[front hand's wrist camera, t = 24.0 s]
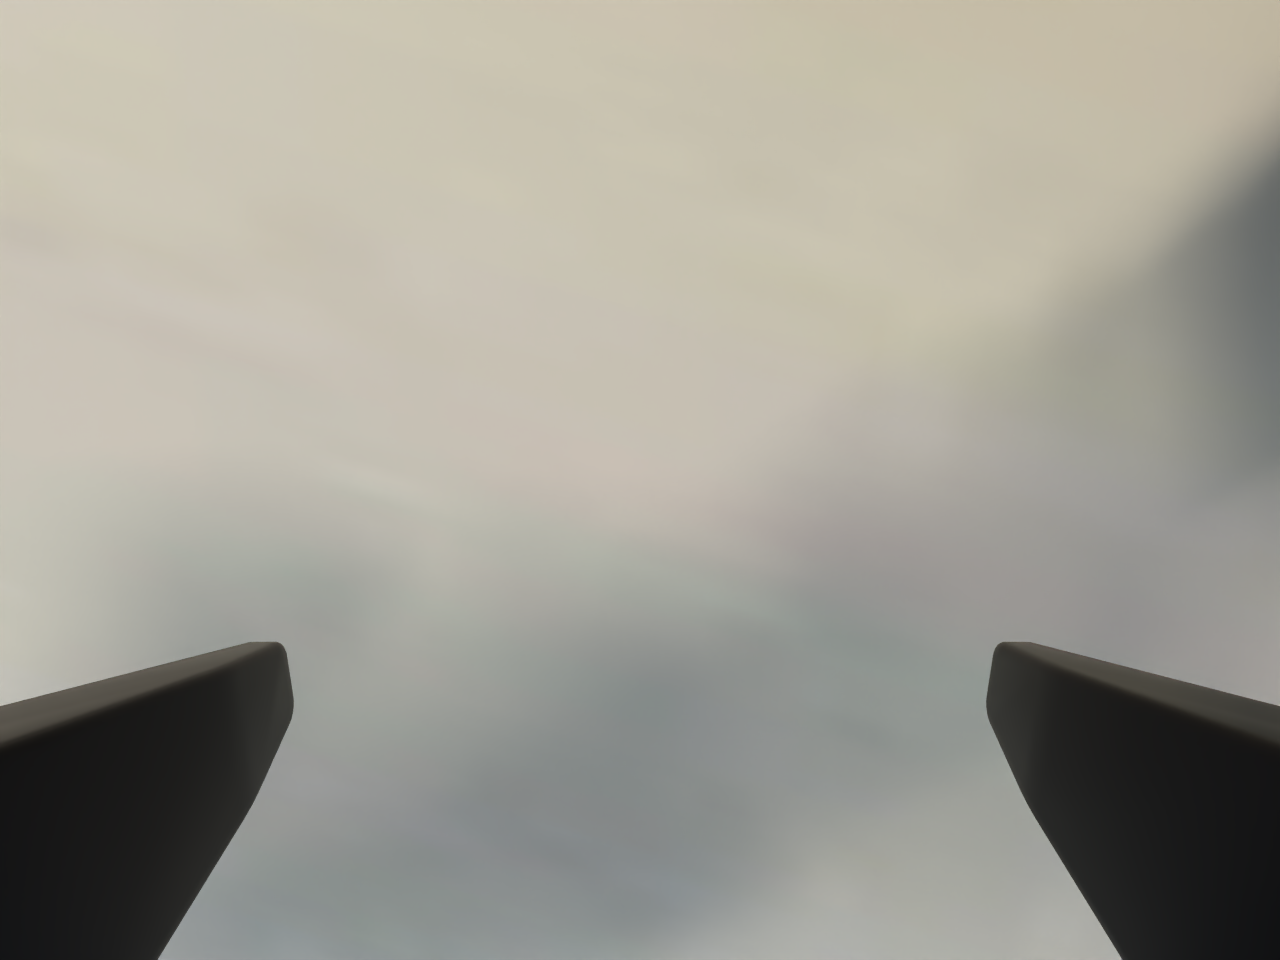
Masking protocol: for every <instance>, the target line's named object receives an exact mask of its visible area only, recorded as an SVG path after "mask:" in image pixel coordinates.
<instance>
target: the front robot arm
mask: <svg viewBox="0 0 1280 960" xmlns="http://www.w3.org/2000/svg"><path fill="white" fill-rule="evenodd" d="M293 707H294V699H293V692H292V685H291V679H290V672H289V666H288V659H287V654H286V651H285V648H284V646H283V645H282V644H280V643H278V642H248V643H245V644H241V645H237V646H233V647H229V648H225V649H221V650H217V651H213V652H210V653H206V654H202V655H198V656H194V657H190V658H186V659H182V660H178V661H175V662H171V663H167V664H163V665H159V666H155V667H151V668H147V669H143V670H140V671H136V672H132V673H128V674H124V675H120V676H116V677H112V678H108V679H105V680H101V681H97V682H93V683H89V684H85V685H81V686H77V687H73V688H70V689H66V690H62V691H58V692H54V693H50V694H46V695H42V696H39V697H35V698H31V699H27V700H23V701H19V702H15V703H11V704H7V705H4V706H0V960H158V958H159V956H160V955H161V953H162V952H163V950H164V948H165V947H166V945H167V943H168V942H169V940H170V939H171V937H172V935H173V934H174V932H175V930H176V929H177V927H178V926H179V924H180V922H181V921H182V919H183V917H184V916H185V914H186V913H187V911H188V909H189V908H190V906H191V904H192V903H193V901H194V900H195V898H196V896H197V895H198V893H199V891H200V890H201V888H202V886H203V885H204V883H205V882H206V880H207V878H208V877H209V875H210V873H211V872H212V870H213V869H214V867H215V865H216V864H217V862H218V860H219V859H220V857H221V856H222V854H223V852H224V851H225V849H226V847H227V846H228V844H229V843H230V841H231V839H232V838H233V836H234V834H235V833H236V831H237V830H238V828H239V826H240V825H241V823H242V821H243V820H244V818H245V816H246V815H247V813H248V811H249V809H250V808H251V806H252V804H253V802H254V800H255V798H256V796H257V794H258V792H259V790H260V788H261V786H262V783H263V781H264V779H265V777H266V775H267V772H268V770H269V768H270V766H271V764H272V761H273V759H274V757H275V755H276V752H277V750H278V748H279V746H280V744H281V741H282V739H283V737H284V735H285V732H286V730H287V728H288V726H289V724H290V721H291V718H292V714H293ZM986 707H987V714H988V718H989V721H990V724H991V726H992V728H993V730H994V733H995V735H996V737H997V739H998V741H999V744H1000V746H1001V748H1002V750H1003V752H1004V755H1005V757H1006V759H1007V761H1008V764H1009V766H1010V768H1011V770H1012V772H1013V775H1014V777H1015V779H1016V781H1017V783H1018V786H1019V788H1020V790H1021V792H1022V794H1023V796H1024V798H1025V800H1026V802H1027V804H1028V806H1029V808H1030V809H1031V811H1032V813H1033V815H1034V816H1035V818H1036V820H1037V821H1038V823H1039V825H1040V826H1041V828H1042V830H1043V831H1044V833H1045V834H1046V836H1047V838H1048V839H1049V841H1050V843H1051V844H1052V846H1053V847H1054V849H1055V851H1056V852H1057V854H1058V856H1059V857H1060V859H1061V860H1062V862H1063V864H1064V865H1065V867H1066V869H1067V870H1068V872H1069V873H1070V875H1071V877H1072V878H1073V880H1074V882H1075V883H1076V885H1077V886H1078V888H1079V890H1080V891H1081V893H1082V895H1083V896H1084V898H1085V899H1086V901H1087V903H1088V904H1089V906H1090V908H1091V909H1092V911H1093V912H1094V914H1095V916H1096V917H1097V919H1098V921H1099V922H1100V924H1101V925H1102V927H1103V929H1104V930H1105V932H1106V934H1107V935H1108V937H1109V938H1110V940H1111V942H1112V943H1113V945H1114V947H1115V948H1116V950H1117V952H1118V953H1119V955H1120V956H1121V958H1122V960H1280V706H1277V705H1273V704H1269V703H1265V702H1261V701H1257V700H1253V699H1249V698H1245V697H1242V696H1238V695H1234V694H1230V693H1226V692H1222V691H1218V690H1214V689H1210V688H1207V687H1203V686H1199V685H1195V684H1191V683H1187V682H1183V681H1179V680H1175V679H1172V678H1168V677H1164V676H1160V675H1156V674H1152V673H1148V672H1144V671H1140V670H1137V669H1133V668H1129V667H1125V666H1121V665H1117V664H1113V663H1109V662H1105V661H1102V660H1098V659H1094V658H1090V657H1086V656H1082V655H1078V654H1074V653H1070V652H1067V651H1063V650H1059V649H1055V648H1051V647H1047V646H1043V645H1039V644H1035V643H1032V642H1002V643H1000V644H998V645H997V646H996V648H995V651H994V654H993V659H992V666H991V672H990V679H989V685H988V692H987V699H986Z"/></svg>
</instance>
